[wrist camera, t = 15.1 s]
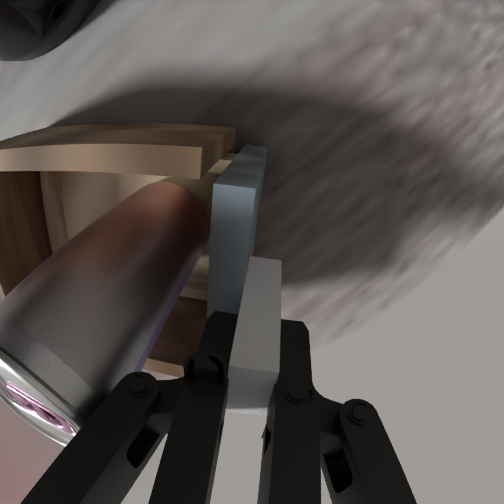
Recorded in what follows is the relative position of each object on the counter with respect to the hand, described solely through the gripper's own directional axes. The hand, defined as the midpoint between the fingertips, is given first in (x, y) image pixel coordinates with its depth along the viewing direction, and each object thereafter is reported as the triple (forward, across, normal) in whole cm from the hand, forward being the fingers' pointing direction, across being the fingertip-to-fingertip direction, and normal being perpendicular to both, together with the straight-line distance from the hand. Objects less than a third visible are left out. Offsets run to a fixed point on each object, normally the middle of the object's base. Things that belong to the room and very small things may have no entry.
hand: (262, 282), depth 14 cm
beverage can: (+6, -7, 0) cm, 9 cm away
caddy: (+7, -11, 0) cm, 13 cm away
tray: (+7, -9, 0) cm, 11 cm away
